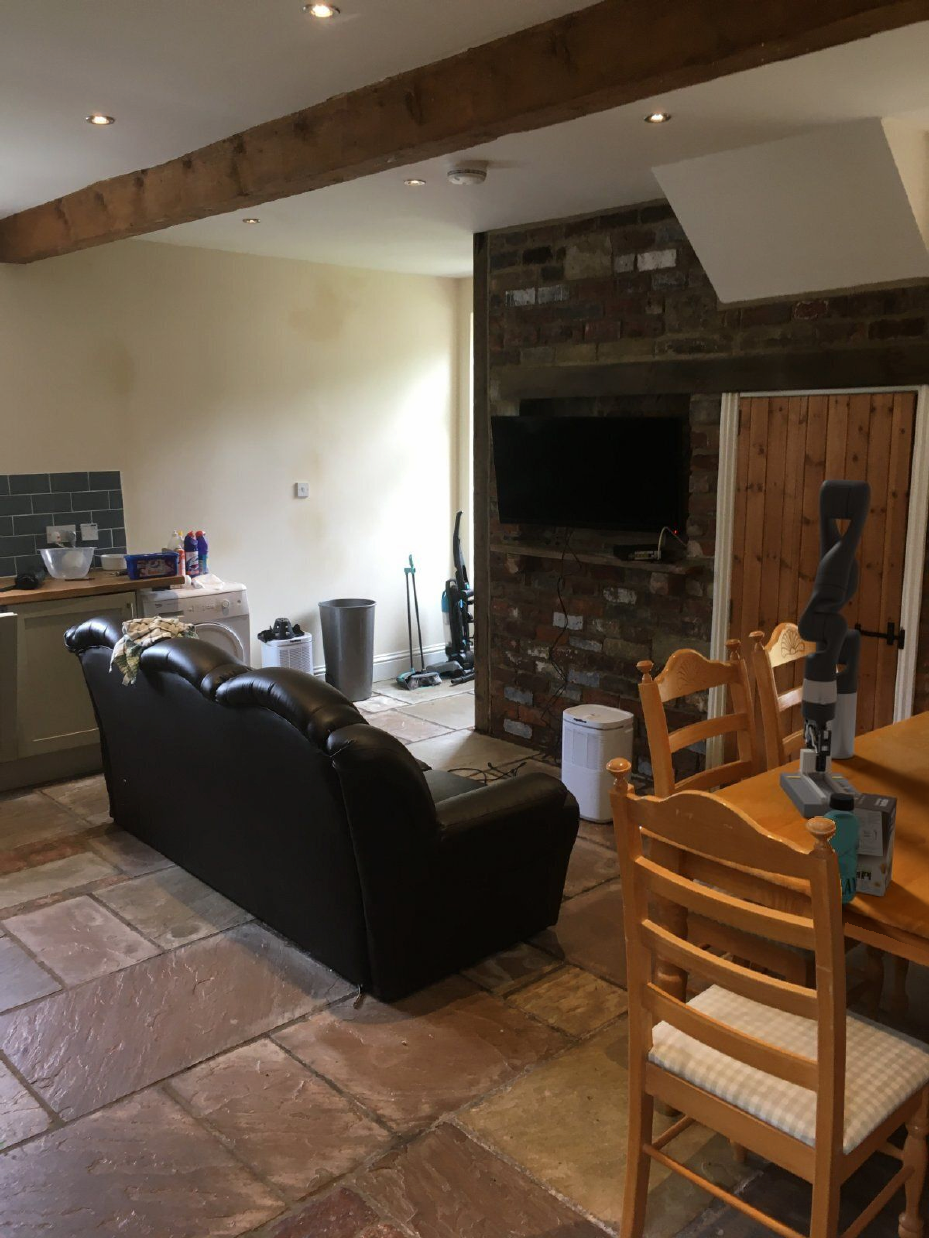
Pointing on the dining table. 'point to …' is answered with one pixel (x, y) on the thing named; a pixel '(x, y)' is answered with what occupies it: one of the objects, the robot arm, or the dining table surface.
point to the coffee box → (875, 842)
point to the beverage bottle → (845, 842)
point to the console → (815, 791)
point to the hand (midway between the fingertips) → (815, 765)
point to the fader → (812, 763)
